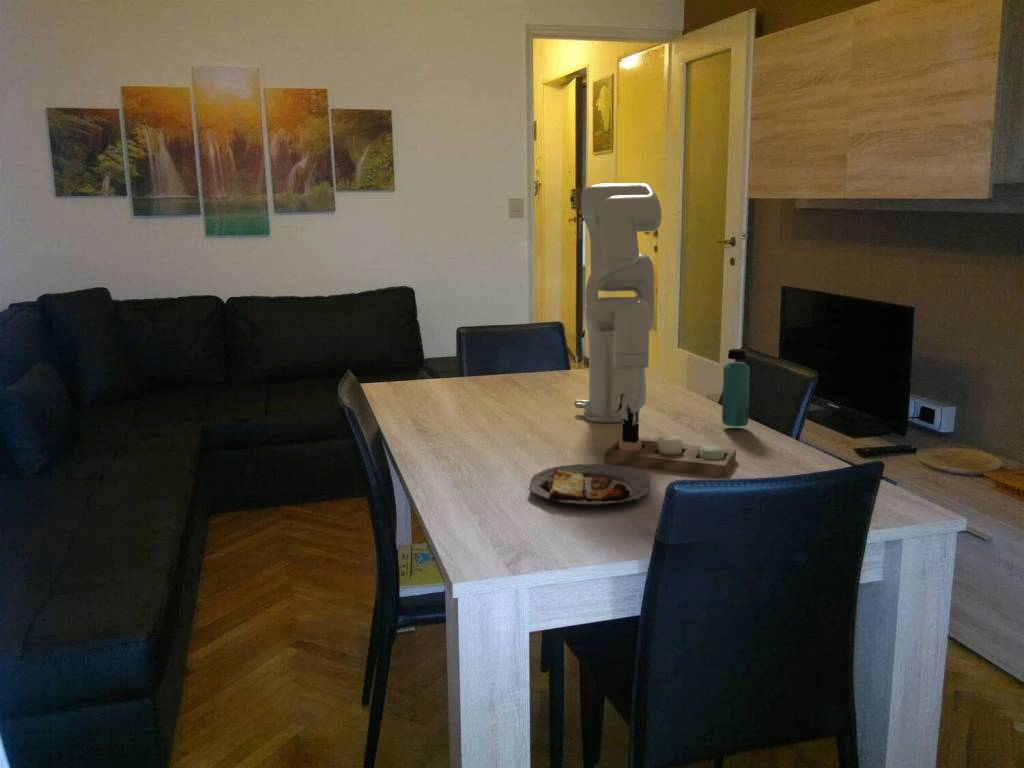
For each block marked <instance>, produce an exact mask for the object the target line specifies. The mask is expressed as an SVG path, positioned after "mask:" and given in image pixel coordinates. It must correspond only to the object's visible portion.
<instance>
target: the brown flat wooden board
mask: <svg viewBox="0 0 1024 768" xmlns="http://www.w3.org/2000/svg"><path fill="white" fill-rule="evenodd" d="M620 439H623V437H621V438H620ZM620 439H619V440H620ZM619 440H617V441H616V442H615V443H614V444H613V445H611V446H610V447H609V448H608V449H606V451H604V461H603V462H604V463H603V464H604V465H607V464H608V465H613V466H624V467H633V468H634V467H635V468H643V469H650V470H651V469H652V470H659V471H666V472H667V471H668V472H669V471H670V472H676V473H686V474H693V475H695V474H696V475H703V476H711V477H713V476H714V477H719V476H722V477H723V478H725V477H726V476H727V475H728V473H729V472H730V470H731V468H732V467H733V465H734V464H735V462H736V461H737V460H736V459H737V450H736V449H731V448H723V447H722V448H723V449H724V460H723V461H720V460H710V459H701V458H700V448H701V447H704V446H705V445H704V446H702V445H694V444H693V445H692V444H683V443H682V455H681V456H673V455H663V454H659V441H654V440H653V441H652V440H643V439H640V440H641V441H642V450H641V451H640V452H635V451H626V450H619ZM722 477H721V478H722Z"/></svg>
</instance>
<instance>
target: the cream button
mask: <svg viewBox="0 0 1024 768" xmlns="http://www.w3.org/2000/svg"><path fill="white" fill-rule="evenodd" d="M658 442H659V454H663V455H673V456H681V455H682V444H683V438H682V436H678V435H661V436H660V437H658Z"/></svg>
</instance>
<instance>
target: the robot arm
mask: <svg viewBox="0 0 1024 768" xmlns="http://www.w3.org/2000/svg"><path fill="white" fill-rule="evenodd" d="M580 205H581V207H580V208H581V213H582V217H583V220H584V222H585V225H586V227H587V228H586V229H587V230H588V234H589V241H590V243H589V245H590V246H589V247H590V248H589V249H590V274H589V277H588V278H587V283H586V285H585V286H586V287H585V305H586V307H585V322H586V328H587V336H588V337H587V338H588V359H589V360H588V367H589V368H588V369H589V370H588V372H589V373H588V377H589V378H588V382H589V383H588V384H589V385H588V387H589V388H588V389H589V390H588V392H589V393H588V394H589V395H588V399H587V398H586V400H583V399H579V398H578V399H577V398H576V399H575V401H574V406H575V408H576V409H584V411H583V413H582V415H583V418H584V419H585V420H587V421H589V422H593V423H600V424H601V423H603V424H604V423H605V424H607V423H609V424H612V423H613V424H614V423H622V438H623V441H624V442H633V443H636V442H637V441H638V440H639V439H640V438H639V433H640V432H639V431H640V428H639V427H640V424H639V422H640V411H641V409H643V407H644V406H645V404H646V399H647V398H646V396H647V386H646V385H647V384H646V382H647V381H646V369H647V368H649V365H650V363H649V361H650V358H649V357H650V354H649V351H650V346H649V345H650V331H652V330H653V327H654V324H655V323H654V322H655V270H654V265H653V261H652V259H651V257H650V256H649V255H647V254H644V253H640V251H639V250H640V249H639V241H638V232H639V233H640V232H641V233H642V232H655V231H657V230H658V229H659V227H660V226H661V224H662V208H661V203H660V200H659V197H658V196H657V194H656V192H655V190H654V189H653V188H652V186H651V185H649V184H648V183H643V182H634V183H633V182H630V183H616V182H615V183H613V182H612V183H598V184H592V185H588V186H587V187H585V188H584V189H583V190H582V192H581V196H580ZM599 292H605V293H606V292H608V293H610V292H611V293H613V292H632V293H634V294H635V296H603V297H600V296H599Z"/></svg>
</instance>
